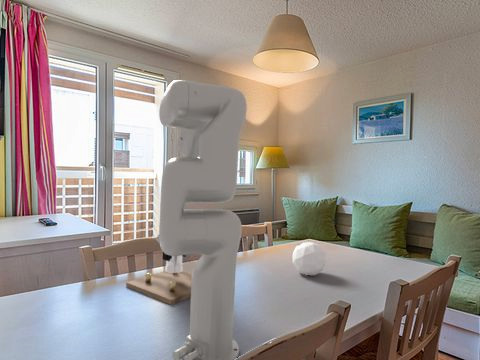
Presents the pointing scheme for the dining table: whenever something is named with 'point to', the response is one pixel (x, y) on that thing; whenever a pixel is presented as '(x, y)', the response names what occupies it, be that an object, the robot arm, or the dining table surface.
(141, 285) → the walnut board
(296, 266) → the geodesic sphere
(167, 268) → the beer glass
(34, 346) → the dining table surface
